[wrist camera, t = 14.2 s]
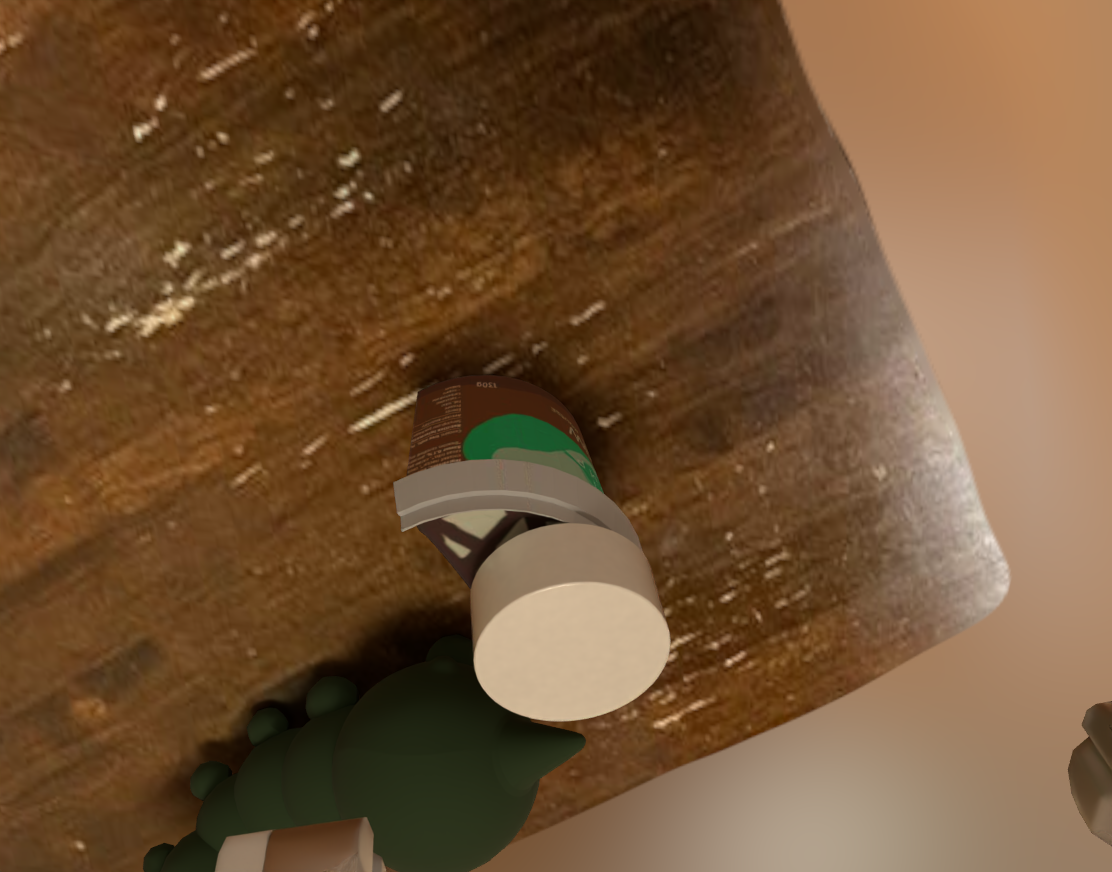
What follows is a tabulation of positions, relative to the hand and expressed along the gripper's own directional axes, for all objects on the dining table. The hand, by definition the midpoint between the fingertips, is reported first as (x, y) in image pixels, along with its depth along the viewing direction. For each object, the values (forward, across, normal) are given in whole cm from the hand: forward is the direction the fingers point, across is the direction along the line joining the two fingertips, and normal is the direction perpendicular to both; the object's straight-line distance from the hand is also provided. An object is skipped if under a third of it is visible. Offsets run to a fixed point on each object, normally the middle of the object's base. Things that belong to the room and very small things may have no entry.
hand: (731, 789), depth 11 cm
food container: (+29, +1, +15) cm, 33 cm away
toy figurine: (+29, +12, +30) cm, 44 cm away
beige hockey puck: (+19, +1, +15) cm, 24 cm away
